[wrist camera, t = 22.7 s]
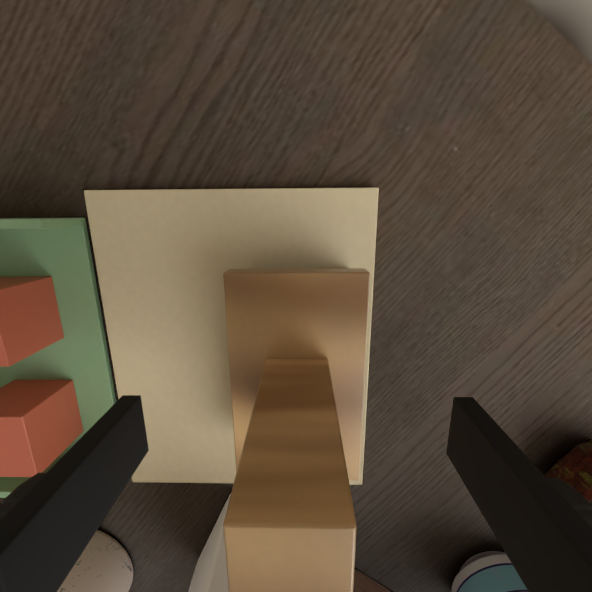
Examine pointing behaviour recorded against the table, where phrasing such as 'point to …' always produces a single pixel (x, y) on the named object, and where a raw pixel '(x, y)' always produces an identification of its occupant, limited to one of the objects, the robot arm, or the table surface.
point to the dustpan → (61, 315)
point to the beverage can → (488, 574)
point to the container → (212, 561)
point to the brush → (295, 426)
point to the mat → (206, 300)
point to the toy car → (576, 469)
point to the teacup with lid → (100, 568)
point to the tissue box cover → (366, 584)
